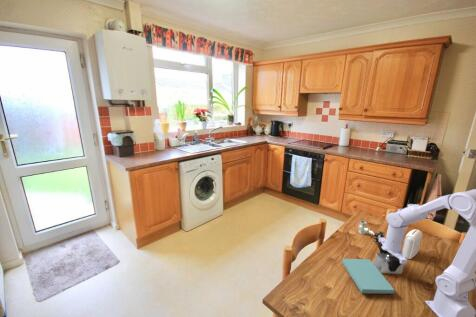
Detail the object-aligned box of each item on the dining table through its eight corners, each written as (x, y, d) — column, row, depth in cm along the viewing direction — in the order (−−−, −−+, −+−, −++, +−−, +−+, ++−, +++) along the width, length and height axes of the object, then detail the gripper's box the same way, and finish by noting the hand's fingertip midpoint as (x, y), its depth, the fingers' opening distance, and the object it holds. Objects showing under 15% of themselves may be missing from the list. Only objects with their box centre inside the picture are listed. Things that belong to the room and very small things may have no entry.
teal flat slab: (393, 296, 81) (394, 289, 80) (360, 295, 81) (361, 289, 80) (368, 265, 97) (369, 259, 96) (341, 264, 97) (342, 258, 96)
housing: (401, 273, 92) (405, 259, 90) (380, 273, 92) (383, 259, 90) (393, 264, 97) (397, 251, 95) (373, 264, 97) (376, 251, 95)
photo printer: (408, 247, 109) (414, 225, 105) (419, 252, 105) (425, 230, 102) (399, 255, 103) (405, 232, 100) (410, 260, 100) (416, 237, 96)
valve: (353, 231, 121) (374, 244, 111) (355, 221, 120) (376, 233, 109) (362, 229, 124) (383, 241, 113) (364, 219, 122) (385, 230, 111)
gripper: (374, 228, 98) (369, 254, 101) (396, 250, 84) (389, 279, 87) (390, 228, 98) (384, 254, 101) (415, 250, 84) (407, 279, 87)
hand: (388, 266), depth 94 cm, fingers closed on housing, 5 cm apart
